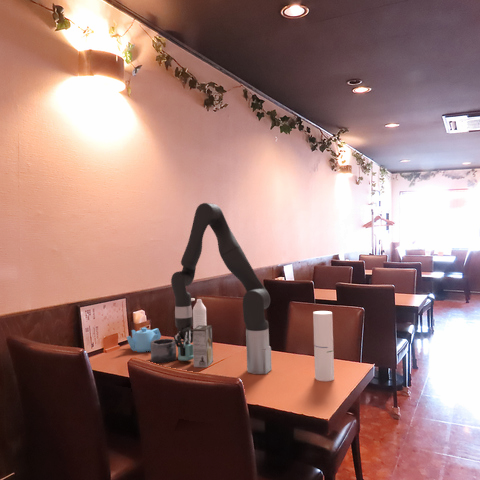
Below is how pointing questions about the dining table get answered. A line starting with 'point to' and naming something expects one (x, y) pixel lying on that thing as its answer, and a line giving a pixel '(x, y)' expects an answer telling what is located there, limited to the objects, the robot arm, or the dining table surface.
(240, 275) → the robot arm
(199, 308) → the water bottle
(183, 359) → the teal short cylinder
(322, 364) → the cylindrical container
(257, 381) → the dining table surface
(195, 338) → the coffee box
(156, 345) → the dark grey canister
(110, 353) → the dining table surface
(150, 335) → the teapot
